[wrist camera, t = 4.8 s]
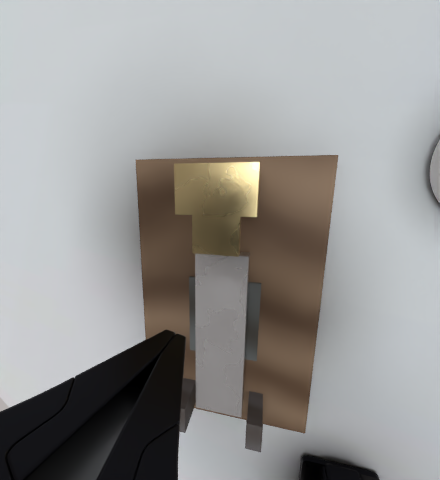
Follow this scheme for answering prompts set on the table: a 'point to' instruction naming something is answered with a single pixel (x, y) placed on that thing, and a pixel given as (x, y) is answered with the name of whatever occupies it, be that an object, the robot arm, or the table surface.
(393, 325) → the table surface
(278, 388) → the base
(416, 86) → the table surface
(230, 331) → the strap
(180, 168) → the gold t-shaped block
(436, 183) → the mug
